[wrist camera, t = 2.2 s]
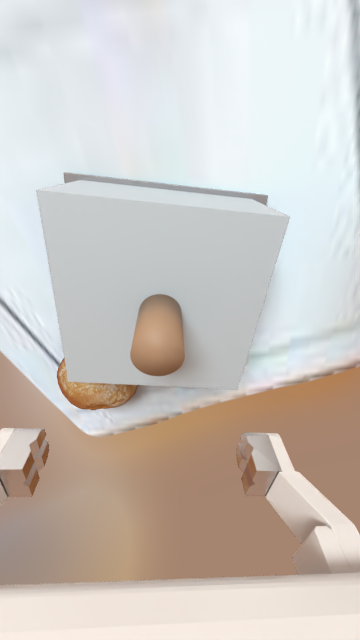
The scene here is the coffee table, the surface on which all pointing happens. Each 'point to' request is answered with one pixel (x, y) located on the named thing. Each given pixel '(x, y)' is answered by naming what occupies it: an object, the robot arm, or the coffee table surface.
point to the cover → (157, 281)
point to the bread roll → (93, 392)
